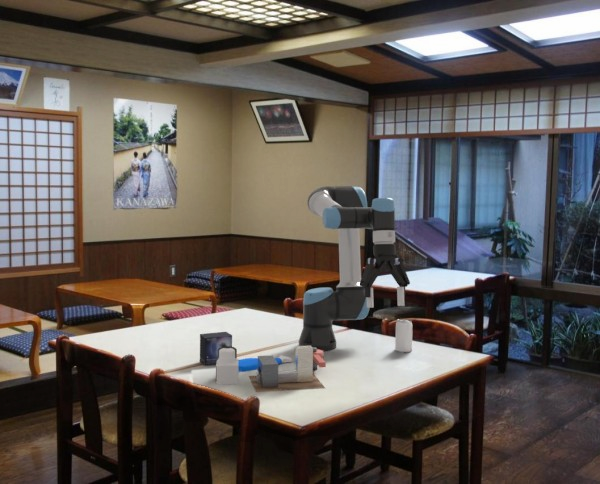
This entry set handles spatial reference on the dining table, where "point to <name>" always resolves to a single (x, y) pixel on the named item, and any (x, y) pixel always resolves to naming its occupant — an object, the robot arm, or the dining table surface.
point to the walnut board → (288, 385)
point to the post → (314, 366)
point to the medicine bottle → (227, 366)
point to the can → (403, 335)
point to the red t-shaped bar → (318, 357)
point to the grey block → (268, 371)
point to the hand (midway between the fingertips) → (385, 306)
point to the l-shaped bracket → (297, 367)
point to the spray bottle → (252, 363)
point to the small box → (213, 346)
